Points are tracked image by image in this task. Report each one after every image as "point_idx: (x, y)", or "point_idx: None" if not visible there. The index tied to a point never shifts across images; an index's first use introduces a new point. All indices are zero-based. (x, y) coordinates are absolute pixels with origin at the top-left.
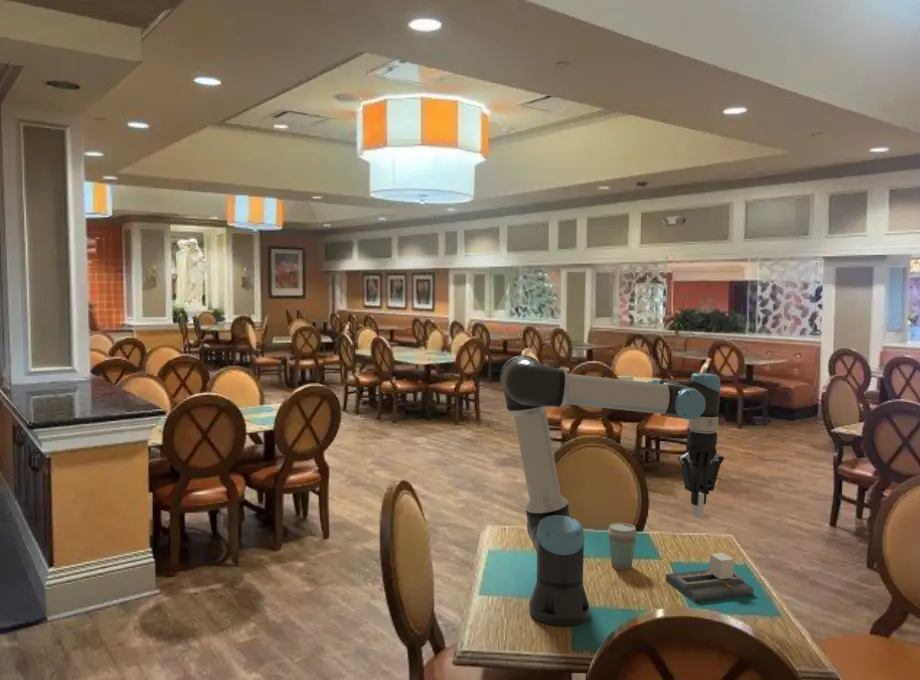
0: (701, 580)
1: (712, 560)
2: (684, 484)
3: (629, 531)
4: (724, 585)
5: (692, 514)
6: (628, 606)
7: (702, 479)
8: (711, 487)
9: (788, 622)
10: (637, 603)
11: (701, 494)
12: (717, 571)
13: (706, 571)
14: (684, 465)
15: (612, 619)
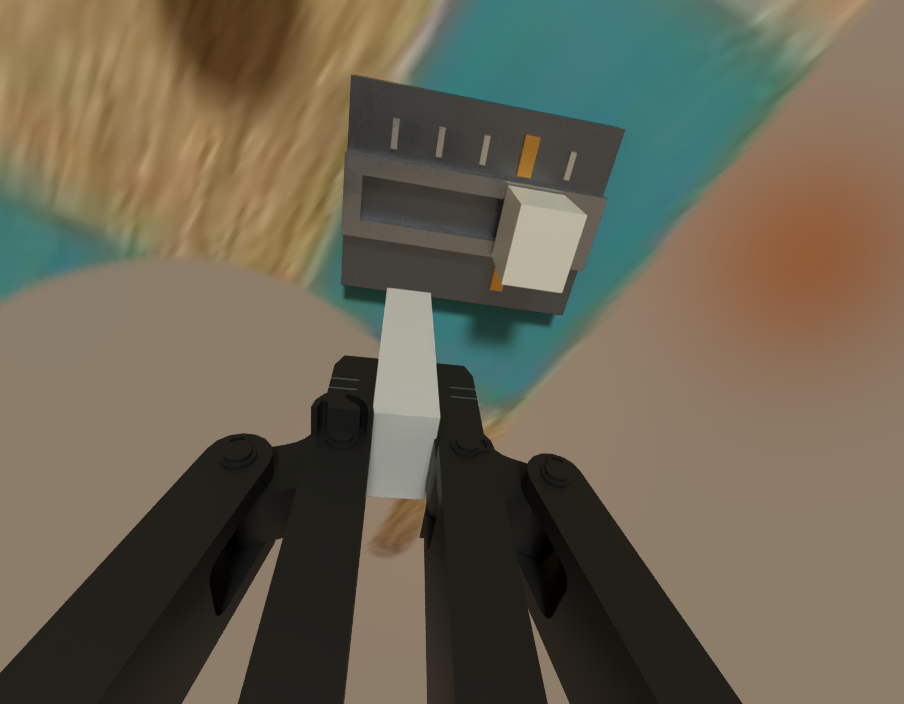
0: (448, 197)
1: (512, 218)
2: (169, 493)
3: None
4: (491, 266)
5: (387, 289)
6: (98, 212)
7: (435, 632)
8: (524, 560)
9: (494, 439)
10: (141, 205)
11: (388, 496)
12: (499, 243)
13: (531, 137)
14: None
15: (12, 270)
